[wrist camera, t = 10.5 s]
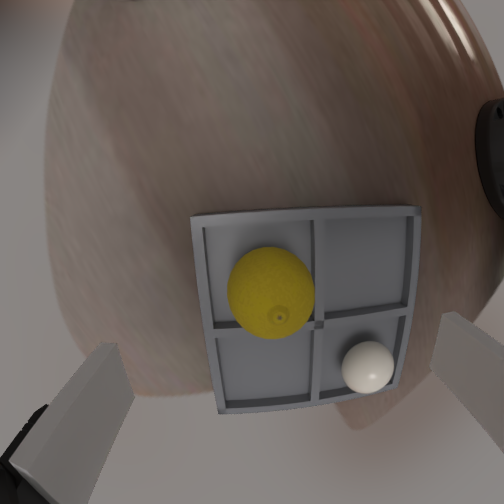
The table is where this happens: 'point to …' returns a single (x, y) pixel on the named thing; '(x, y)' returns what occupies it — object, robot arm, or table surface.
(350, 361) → the cream egg
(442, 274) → the table surface
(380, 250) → the compartment tray
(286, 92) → the table surface
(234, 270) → the lemon
